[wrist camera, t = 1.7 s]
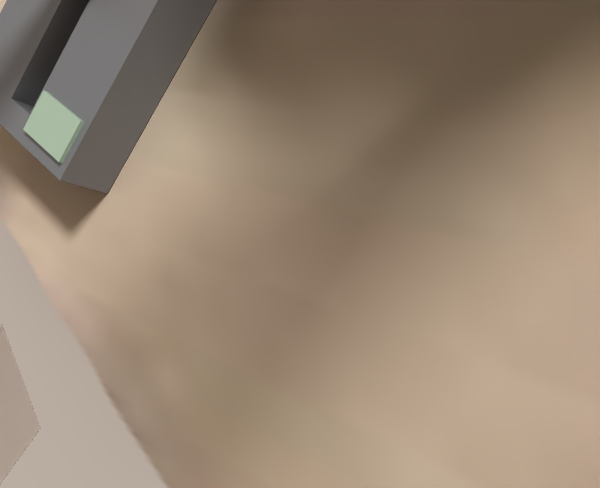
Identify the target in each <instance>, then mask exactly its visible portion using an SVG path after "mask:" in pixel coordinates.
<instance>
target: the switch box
mask: <svg viewBox="0 0 600 488" xmlns="http://www.w3.org/2000/svg"><path fill="white" fill-rule="evenodd" d="M215 2H216V0H7V1H6V3H5V5H4V7H3V9H2V11H1V13H0V125H1V126H2V127H3V128H4V129H5V130H6V131H8V132H9V133H10V134H11V135H12V136H13V137H14V138H15V139H16V140H17V141H18V142H19V143H20V144H21V145H22V146H23V147H24V148H26V149H27V150H28V151H29V152H30V153H31V154H32V155H33V156H34V157H35V158H36V159H37V160H38V161H39V162H40V163H41V164H42V165H43V166H45V167H46V168H47V169H48V170H49V171H50V172H51V173H52V174H53V175H54V176H55V177H56V178H57V179H58V180H59V181H62V182H66V183H70V184H73V185H77V186H81V187H85V188H88V189H92V190H96V191H99V192H103V193H107V194H108V192H109V190H110V188H111V187H112V185H113V183H114V181H115V180H116V178H117V176H118V174H119V172H120V171H121V169H122V167H123V165H124V164H125V162H126V160H127V158H128V156H129V155H130V153H131V151H132V149H133V148H134V146H135V144H136V142H137V140H138V139H139V137H140V135H141V133H142V132H143V130H144V128H145V126H146V125H147V123H148V121H149V119H150V117H151V116H152V114H153V112H154V110H155V109H156V107H157V105H158V103H159V101H160V100H161V98H162V96H163V94H164V93H165V91H166V89H167V87H168V85H169V84H170V82H171V80H172V78H173V77H174V75H175V73H176V71H177V69H178V68H179V66H180V64H181V62H182V61H183V59H184V57H185V55H186V53H187V52H188V50H189V48H190V46H191V45H192V43H193V41H194V39H195V37H196V36H197V34H198V32H199V30H200V29H201V27H202V25H203V23H204V22H205V20H206V18H207V16H208V14H209V13H210V11H211V9H212V7H213V6H214V4H215Z"/></svg>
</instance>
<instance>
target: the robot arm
mask: <svg viewBox="0 0 600 488" xmlns="http://www.w3.org/2000/svg"><path fill="white" fill-rule="evenodd" d="M40 429H41V428H40V425H39V423H38V420H37V417H36V414H35V412H34V409H33V406H32V404H31V401H30V398H29V396H28V393H27V390H26V387H25V385H24V382H23V379H22V377H21V374H20V371H19V369H18V366H17V363H16V360H15V358H14V355H13V352H12V349H11V347H10V344H9V341H8V339H7V336H6V333H5V330H4V328H3V325H0V484H1V483H2V481H3V480H4V478H5V477H6V476H7V474H8V473H9V471H10V470H11V469H12V467H13V466H14V464H15V463H16V462H17V460H18V459H19V458H20V456H21V455H22V454H23V452H24V451H25V449H26V448H27V447H28V445H29V444H30V443H31V441H32V440H33V438H34V437H35V436H36V434H37V433H38V431H39V430H40Z"/></svg>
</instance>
